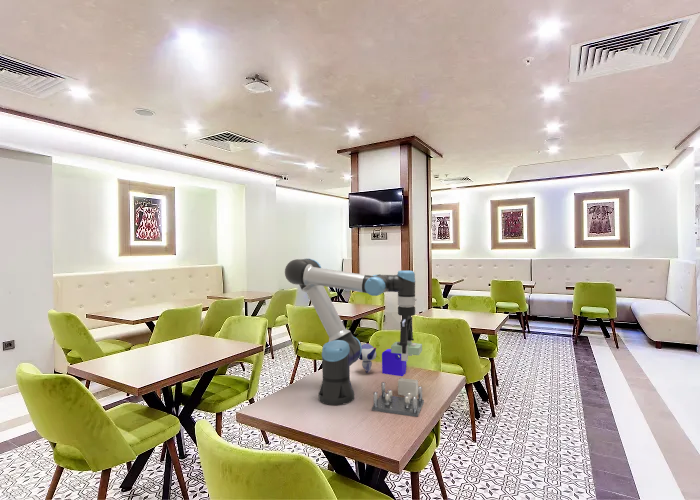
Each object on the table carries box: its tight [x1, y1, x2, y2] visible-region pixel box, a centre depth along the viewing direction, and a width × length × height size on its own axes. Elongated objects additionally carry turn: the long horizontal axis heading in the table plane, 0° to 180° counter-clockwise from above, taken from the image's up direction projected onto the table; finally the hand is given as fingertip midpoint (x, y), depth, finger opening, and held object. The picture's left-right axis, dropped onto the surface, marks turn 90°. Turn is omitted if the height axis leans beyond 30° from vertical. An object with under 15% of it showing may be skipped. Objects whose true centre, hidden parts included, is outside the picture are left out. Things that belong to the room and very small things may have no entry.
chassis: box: [371, 381, 425, 418], centre depth 149 cm, size 18×14×7 cm
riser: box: [397, 377, 419, 398], centre depth 162 cm, size 8×4×6 cm, turn 69°
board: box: [390, 341, 423, 356], centre depth 162 cm, size 12×8×4 cm, turn 69°
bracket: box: [381, 348, 407, 377], centre depth 196 cm, size 18×11×12 cm, turn 152°
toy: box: [358, 343, 377, 374], centre depth 192 cm, size 11×10×15 cm
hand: (406, 357), depth 162 cm, fingers closed on board, 8 cm apart
